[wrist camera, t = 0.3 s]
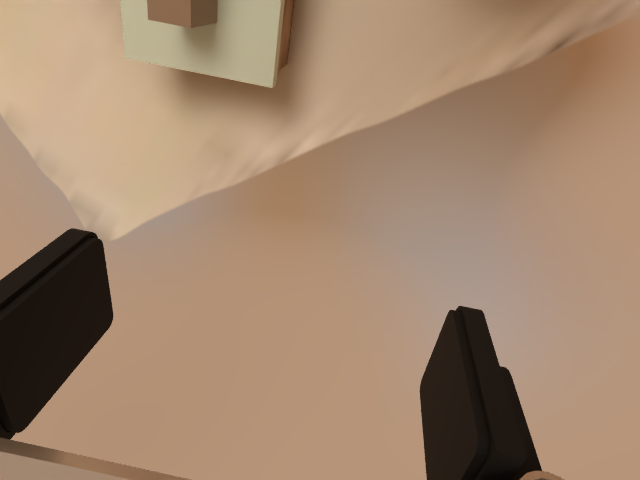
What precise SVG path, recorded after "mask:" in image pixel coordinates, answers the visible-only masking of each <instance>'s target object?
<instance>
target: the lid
mask: <svg viewBox="0 0 640 480" xmlns="http://www.w3.org/2000/svg"><path fill="white" fill-rule="evenodd" d="M120 3H121V16H122V30H123V43H124V56H125V58H126V59H131V60H136V61H141V62H146V63H151V64H156V65H161V66H166V67H171V68H176V69H181V70H186V71H190V72H195V73H200V74H205V75H210V76H215V77H220V78H225V79H230V80H235V81H240V82H245V83H250V84H255V85H260V86H265V87H269V88H273V87H274V86H275V85H276V81H277V72H278V62H279V52H280V43H281V33H282V23H283V14H284V4H285V0H120Z"/></svg>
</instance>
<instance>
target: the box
mask: <svg viewBox="0 0 640 480" xmlns="http://www.w3.org/2000/svg"><path fill="white" fill-rule="evenodd" d="M293 6H294V0H285V4H284V14H283V23H282V33H281V43H280V52H279V62H278V70H280V69H281V68H282V67H284V66H285V65H286V64H287V59H288V50H289V41H290V32H291V24H292V15H293Z"/></svg>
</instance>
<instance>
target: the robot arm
mask: <svg viewBox="0 0 640 480" xmlns="http://www.w3.org/2000/svg"><path fill="white" fill-rule="evenodd" d="M112 320H113V310H112V302H111V295H110V289H109V282H108V275H107V268H106V261H105V254H104V247H103V243H102V241H101V240H100V239H98V237H97V235H96V234H95V233H93V232H89V231H83V230H79V229H69V230H67V231H66V232H65V233H63V234H62V235H61V236H59V237H58V238H57V239H55V240H54V241H53V242H51V243H50V244H49V245H48V246H46V247H44V248H43V249H42V250H40V251H39V252H38V253H36V254H35V255H34V256H32V257H31V258H30V259H28V260H27V261H26V262H24V263H23V264H22V265H20V266H19V267H18V268H16V269H15V270H14V271H12V272H11V273H9V274H8V275H7V276H5V277H4V278H3V279H1V280H0V480H189V479H185V478H181V477H176V476H172V475H167V474H163V473H159V472H154V471H150V470H145V469H141V468H136V467H132V466H127V465H122V464H118V463H114V462H109V461H104V460H100V459H96V458H91V457H87V456H82V455H77V454H73V453H68V452H64V451H59V450H54V449H49V448H45V447H41V446H36V445H32V444H27V443H23V442H18V441H13V440H10V439H11V438H12V437H13V436H14V435H15V433H16V432H17V433H19V432H21V431H23V430H24V429H25V428H26V427H27V426H28V425H29V424H30V423H31V421H32V420H33V419H34V418H35V417H36V415H37V414H38V413H39V412H40V411H41V409H42V408H43V407H44V406H45V405H46V403H47V402H48V401H49V400H50V399H51V397H52V396H53V395H54V393H56V391H57V390H58V389H59V388H60V386H61V385H62V384H63V383H64V382H65V380H66V379H67V378H68V377H69V376H70V374H71V373H72V372H73V371H74V369H75V368H76V367H77V366H78V365H79V364H80V362H81V361H82V360H83V359H84V357H85V356H86V355H87V354H88V352H89V351H90V350H91V349H92V348H93V347H94V345H95V344H96V343H97V342H98V340H99V339H100V338H101V337H102V336H103V335H104V333H105V332H106V331H107V330H108V328H109V327H110V325H111V323H112ZM420 400H421V413H422V425H423V437H424V449H425V462H426V473H427V480H564V479H562V478H561V477H559V476H556V475H554V474H551V473H549V472H544V471H542V469H541V466H540V463H539V460H538V457H537V454H536V450H535V448H534V444H533V441H532V438H531V435H530V432H529V429H528V426H527V423H526V420H525V416H524V413H523V410H522V407H521V404H520V401H519V398H518V395H517V392H516V389H515V386H514V382H513V379H512V376H511V374H510V372H509V370H508V369H507V368H505V367H500V366H499V363H498V359H497V356H496V353H495V350H494V346H493V343H492V339H491V336H490V333H489V330H488V326H487V323H486V319H485V316H484V313H483V311H482V310H478V309H473V308H468V307H463V306H459V307H458V308H457V309H456V311H455V310H450V311H449V312H448V315H447V317H446V319H445V322H444V324H443V327H442V330H441V332H440V334H439V337H438V340H437V342H436V345H435V347H434V350H433V352H432V355H431V357H430V360H429V362H428V365H427V367H426V370H425V372H424V375H423V378H422V381H421V385H420Z"/></svg>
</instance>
